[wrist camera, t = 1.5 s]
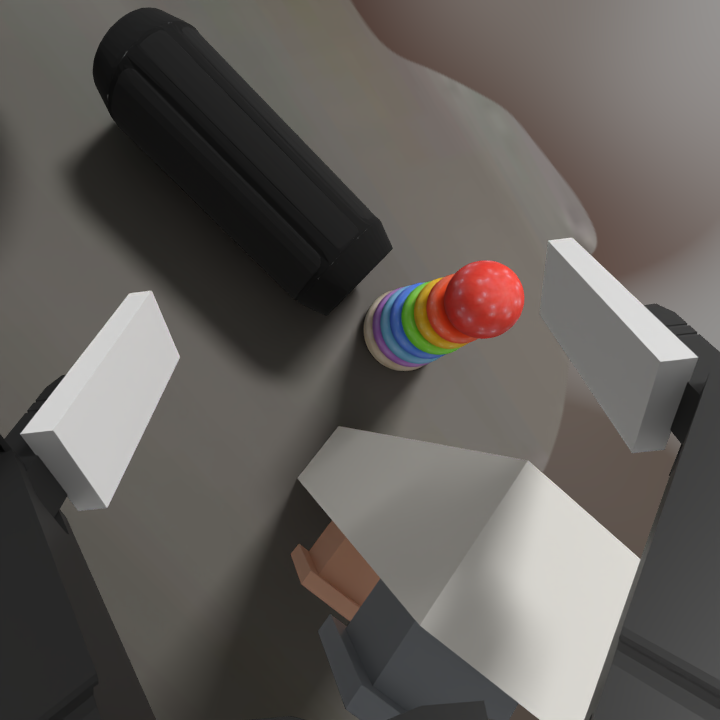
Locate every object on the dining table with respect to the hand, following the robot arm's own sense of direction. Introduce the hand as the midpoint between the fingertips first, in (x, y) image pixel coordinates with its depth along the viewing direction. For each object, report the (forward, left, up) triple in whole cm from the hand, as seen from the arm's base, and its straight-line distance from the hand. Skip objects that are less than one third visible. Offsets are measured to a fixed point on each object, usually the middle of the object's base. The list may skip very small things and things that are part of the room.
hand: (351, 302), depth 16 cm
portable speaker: (-12, +10, -29) cm, 33 cm away
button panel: (+14, -4, -28) cm, 32 cm away
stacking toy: (+7, +10, -29) cm, 31 cm away
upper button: (+14, -8, -10) cm, 18 cm away
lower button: (+14, -8, -23) cm, 27 cm away
